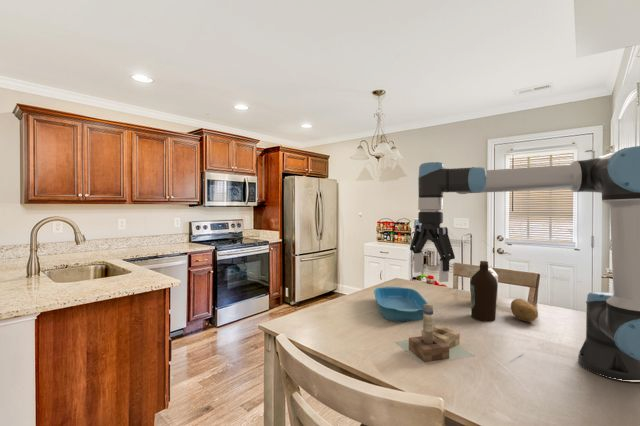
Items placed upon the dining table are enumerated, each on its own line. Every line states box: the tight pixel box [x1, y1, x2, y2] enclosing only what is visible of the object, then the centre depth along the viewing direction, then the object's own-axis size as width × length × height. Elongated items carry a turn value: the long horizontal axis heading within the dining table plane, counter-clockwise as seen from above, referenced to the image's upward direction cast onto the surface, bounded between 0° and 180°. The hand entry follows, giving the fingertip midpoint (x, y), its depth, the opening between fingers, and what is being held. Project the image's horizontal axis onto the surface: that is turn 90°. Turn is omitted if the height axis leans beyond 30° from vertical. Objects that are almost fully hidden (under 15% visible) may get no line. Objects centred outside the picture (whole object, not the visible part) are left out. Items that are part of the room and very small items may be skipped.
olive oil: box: [469, 260, 499, 322], centre depth 138 cm, size 11×11×25 cm
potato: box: [510, 298, 539, 323], centre depth 135 cm, size 10×14×8 cm
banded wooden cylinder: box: [422, 303, 434, 345], centre depth 102 cm, size 3×3×16 cm
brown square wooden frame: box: [408, 335, 449, 363], centre depth 102 cm, size 9×9×4 cm
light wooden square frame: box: [421, 324, 461, 349], centre depth 110 cm, size 9×9×4 cm
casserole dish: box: [373, 286, 429, 323], centre depth 147 cm, size 37×22×7 cm, turn 176°
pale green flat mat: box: [395, 339, 476, 365], centre depth 106 cm, size 16×20×1 cm
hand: (430, 276), depth 101 cm, fingers open, 13 cm apart
